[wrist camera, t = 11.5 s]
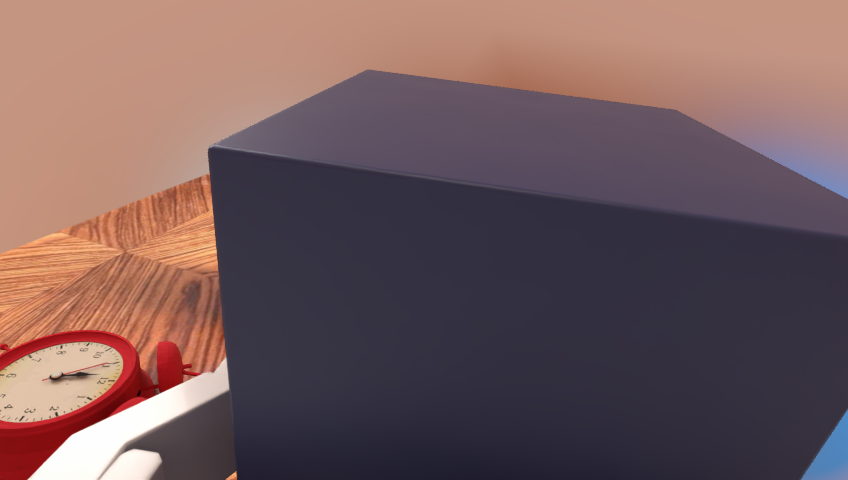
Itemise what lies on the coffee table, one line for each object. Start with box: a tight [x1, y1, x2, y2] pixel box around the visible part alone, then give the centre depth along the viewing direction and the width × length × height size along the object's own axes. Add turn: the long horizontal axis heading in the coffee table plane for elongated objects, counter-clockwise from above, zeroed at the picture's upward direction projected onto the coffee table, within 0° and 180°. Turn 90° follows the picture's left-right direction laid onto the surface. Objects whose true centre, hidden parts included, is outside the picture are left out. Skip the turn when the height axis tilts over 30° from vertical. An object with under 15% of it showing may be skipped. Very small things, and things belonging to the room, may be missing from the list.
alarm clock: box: [0, 330, 201, 480], centre depth 32 cm, size 10×6×15 cm
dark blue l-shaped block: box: [208, 70, 848, 480], centre depth 14 cm, size 16×6×14 cm, turn 173°
